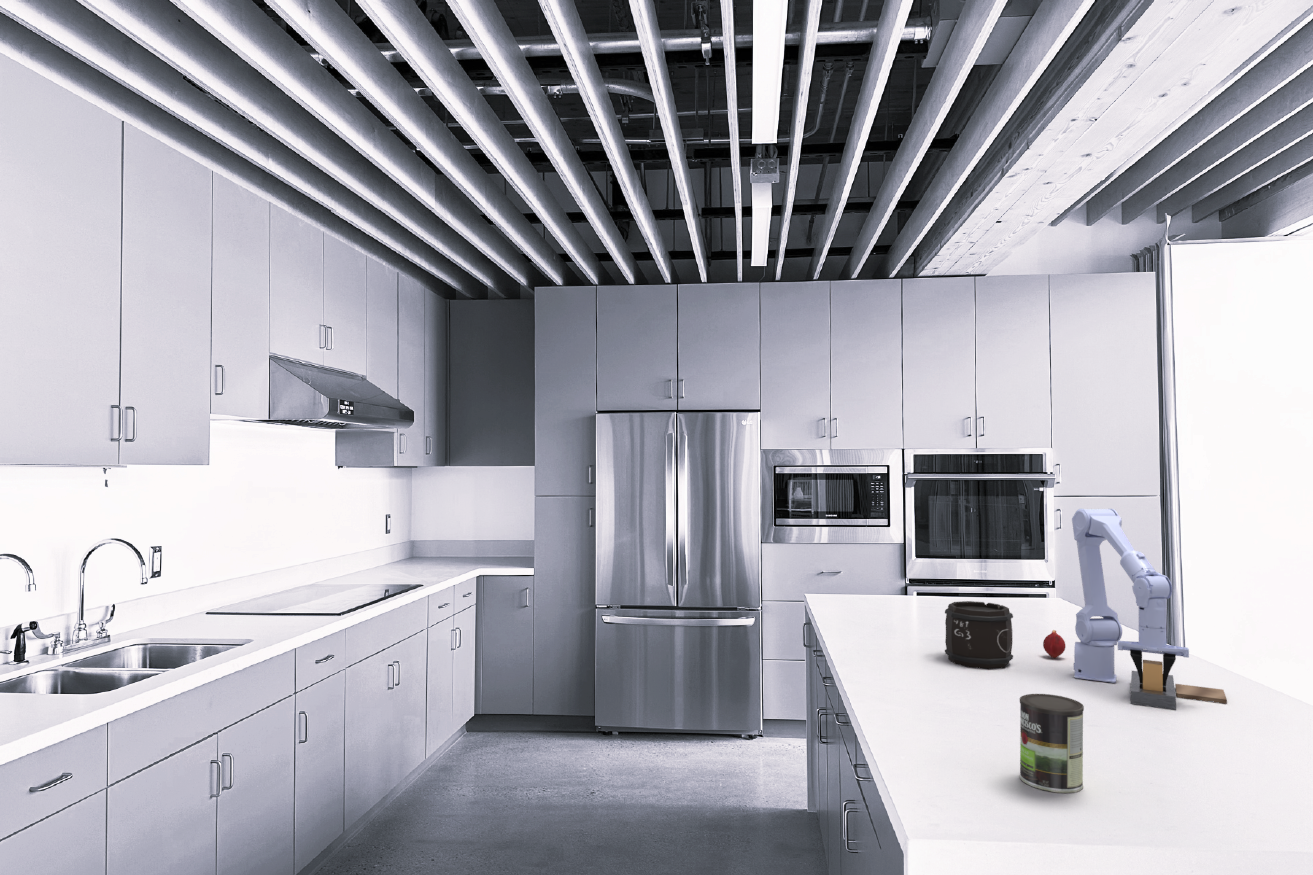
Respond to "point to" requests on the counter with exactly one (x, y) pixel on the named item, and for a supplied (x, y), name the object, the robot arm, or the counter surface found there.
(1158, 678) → the peg
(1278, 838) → the counter surface
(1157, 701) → the grey slotted block
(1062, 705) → the coffee can
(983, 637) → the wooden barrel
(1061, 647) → the onion
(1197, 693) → the board
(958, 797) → the counter surface
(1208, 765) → the counter surface
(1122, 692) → the counter surface
